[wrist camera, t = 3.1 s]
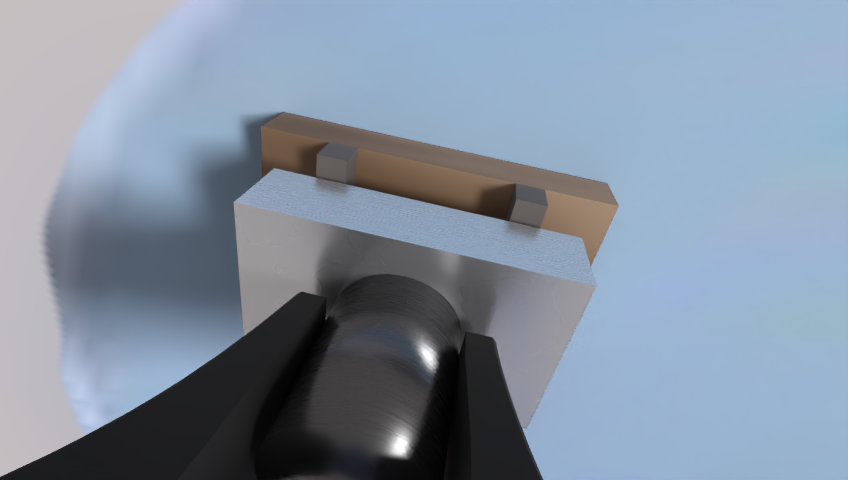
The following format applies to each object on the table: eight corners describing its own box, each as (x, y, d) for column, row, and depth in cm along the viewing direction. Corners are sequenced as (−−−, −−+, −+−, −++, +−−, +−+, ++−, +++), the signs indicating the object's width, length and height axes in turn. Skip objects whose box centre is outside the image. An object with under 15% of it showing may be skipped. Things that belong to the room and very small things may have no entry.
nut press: (466, 506, 23) (456, 640, 18) (285, 459, 23) (231, 578, 19) (607, 183, 13) (665, 300, 8) (283, 112, 13) (165, 184, 9)
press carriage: (524, 372, 14) (535, 609, 8) (277, 311, 14) (145, 505, 9) (582, 237, 11) (650, 467, 6) (274, 168, 11) (83, 326, 6)
